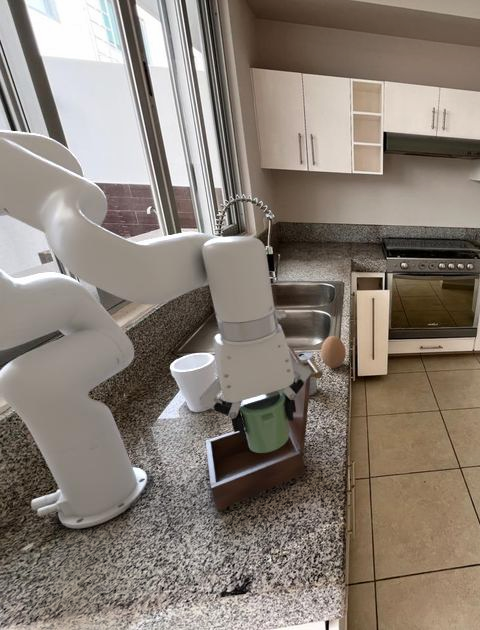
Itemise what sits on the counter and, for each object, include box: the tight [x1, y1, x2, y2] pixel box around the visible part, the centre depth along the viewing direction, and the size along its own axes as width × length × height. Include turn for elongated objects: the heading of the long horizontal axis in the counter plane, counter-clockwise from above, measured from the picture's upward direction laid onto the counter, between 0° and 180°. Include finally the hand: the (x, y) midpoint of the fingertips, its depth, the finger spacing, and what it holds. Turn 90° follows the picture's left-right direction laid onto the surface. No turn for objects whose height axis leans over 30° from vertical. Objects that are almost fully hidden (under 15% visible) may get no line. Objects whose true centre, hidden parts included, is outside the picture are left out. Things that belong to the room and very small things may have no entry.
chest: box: [205, 425, 306, 512], centre depth 70 cm, size 16×14×6 cm
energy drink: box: [296, 350, 318, 396], centre depth 95 cm, size 5×5×12 cm
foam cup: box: [169, 352, 218, 413], centre depth 89 cm, size 10×9×13 cm
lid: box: [287, 345, 324, 452], centre depth 72 cm, size 17×14×5 cm
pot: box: [239, 390, 289, 453], centre depth 56 cm, size 7×9×8 cm
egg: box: [320, 335, 347, 369], centre depth 109 cm, size 8×8×11 cm
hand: (266, 423), depth 56 cm, fingers closed on pot, 6 cm apart
